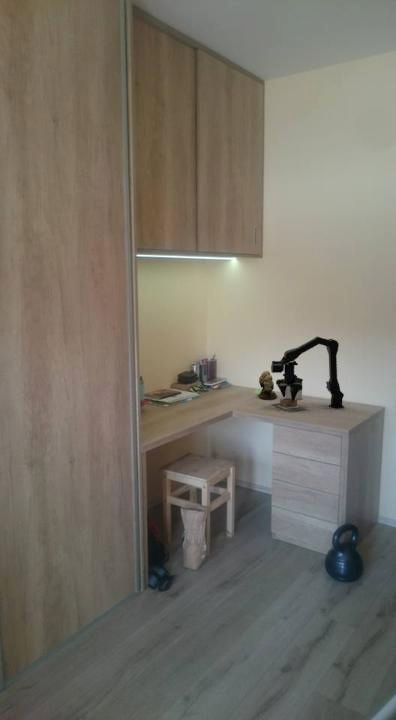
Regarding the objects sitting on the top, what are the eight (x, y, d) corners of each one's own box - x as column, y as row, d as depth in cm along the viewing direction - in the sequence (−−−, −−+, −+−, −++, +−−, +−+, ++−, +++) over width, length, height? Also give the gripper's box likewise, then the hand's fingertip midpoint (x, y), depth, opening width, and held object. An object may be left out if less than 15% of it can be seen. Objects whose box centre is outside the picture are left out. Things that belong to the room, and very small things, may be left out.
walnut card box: (285, 408, 301) (285, 400, 300) (280, 405, 306) (280, 398, 305) (296, 406, 304) (297, 399, 303) (291, 404, 309) (291, 397, 308)
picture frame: (306, 409, 300) (306, 408, 299) (288, 412, 295) (288, 410, 294) (288, 402, 316) (288, 401, 316) (271, 404, 311) (271, 403, 311)
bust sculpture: (279, 400, 322) (279, 373, 319) (260, 400, 322) (260, 373, 319) (275, 393, 339) (275, 368, 336) (257, 394, 339) (257, 368, 337)
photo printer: (300, 397, 328) (301, 378, 326) (302, 399, 324) (303, 379, 322) (284, 398, 327) (285, 378, 325) (286, 400, 323) (287, 380, 321)
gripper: (310, 374, 297) (309, 400, 299) (291, 368, 313) (290, 394, 316) (294, 375, 292) (293, 403, 295) (275, 370, 309) (275, 396, 311)
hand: (288, 398), depth 304 cm, fingers open, 9 cm apart
